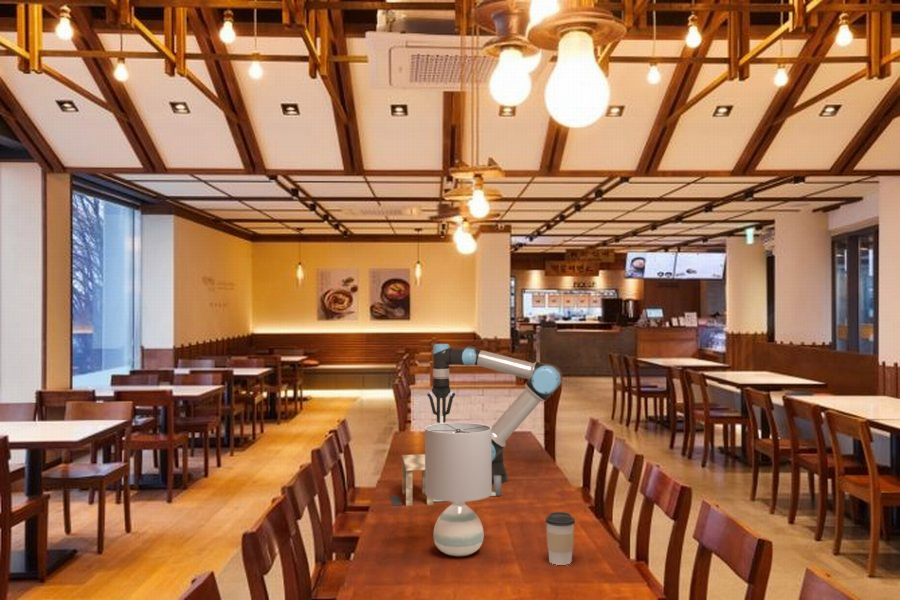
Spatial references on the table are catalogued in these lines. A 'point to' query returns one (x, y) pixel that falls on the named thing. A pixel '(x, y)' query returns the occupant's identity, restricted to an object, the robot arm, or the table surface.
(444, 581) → the table surface
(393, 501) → the pit mat
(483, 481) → the lamp
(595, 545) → the table surface
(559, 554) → the coffee cup
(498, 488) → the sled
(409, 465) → the bridge
